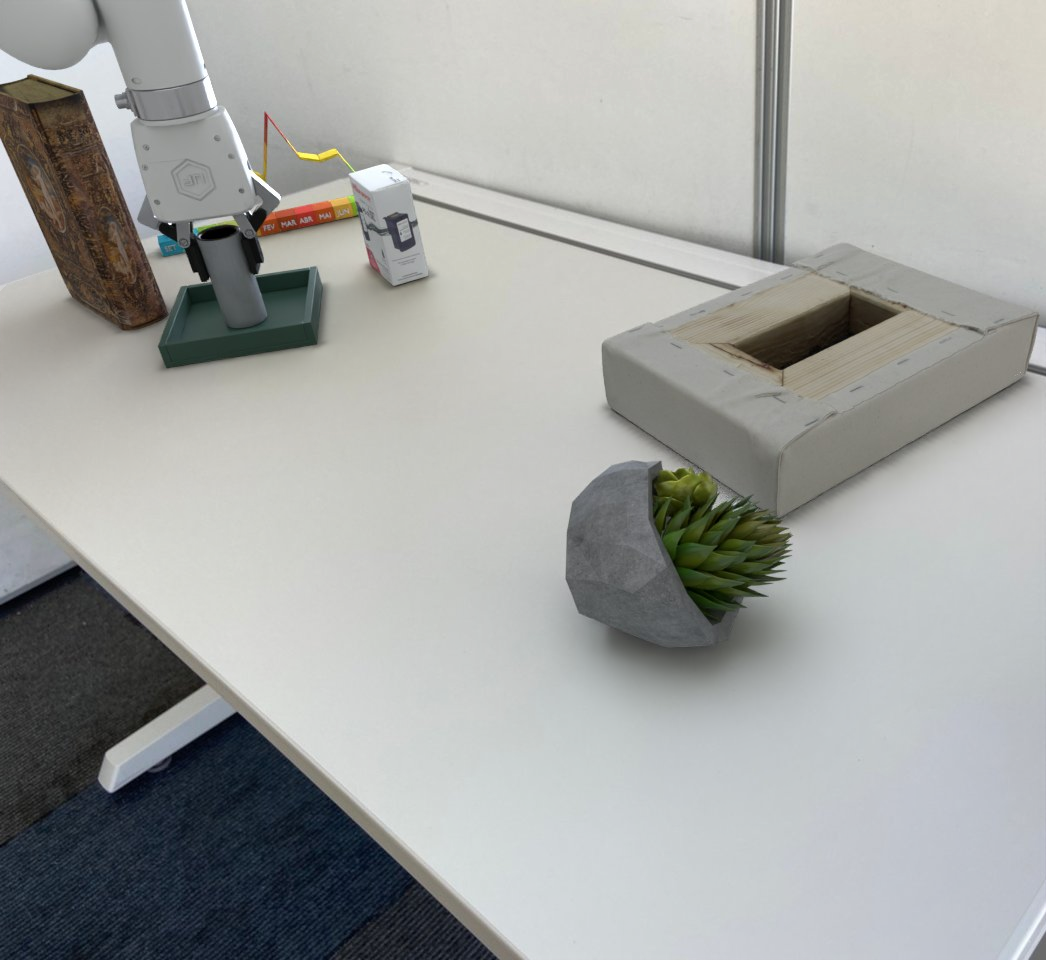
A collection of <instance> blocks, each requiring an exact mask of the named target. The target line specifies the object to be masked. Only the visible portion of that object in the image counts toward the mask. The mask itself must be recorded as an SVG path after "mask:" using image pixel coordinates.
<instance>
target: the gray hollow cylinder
mask: <svg viewBox="0 0 1046 960" xmlns="http://www.w3.org/2000/svg"><path fill="white" fill-rule="evenodd" d="M196 239H197V242H198V245H199V248H200V251H201V254H202V257H203V259H204V262H205V265H206V268H207V271H208V274H209V281H210V282H211V283H212V285H213V288H214V291H215V294H216V297H217V300H218V303H219V306H220V308H221V311H222V314H223V317H224V320H225V322H226V325H227V326H229V327H231V328H247V327H251V326H254V325H257V324H259V323H261V322H262V321H264V320H265V319H266V317H267V312H266V308H265V305H264V302H263V299H262V296H261V293H260V289H259V286H258V283H257V280H256V277H255V275H253V274H251V272H250V269H249V266H248V263H247V260H246V257H245V254H244V251H243V248H242V244H241V239H242V234H241V230H240V228H239V227H238V226H236V225H218V226H213V227H210V228H207V229H204V230H202V231H201V232H199V233H198V234H197V236H196Z"/></svg>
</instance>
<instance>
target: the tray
mask: <svg viewBox="0 0 1046 960" xmlns="http://www.w3.org/2000/svg"><path fill="white" fill-rule="evenodd" d="M255 277H256V280H257V283H258V286H259V289H260V293H261V296H262V299H263V302H264V305H265V308H266V312H267V317H266V319H265V320H264V321H262V322H261V323H259V324H257V325H254V326H251V327H247V328H231V327H229V326H227V325H226V322H225V320H224V317H223V314H222V311H221V308H220V306H219V303H218V300H217V297H216V294H215V291H214V288H213V285H212V283H211V281H207V282H201V283H194V284H189V285H181V286H180V287H179V289H178V292H177V295H176V298H175V299H174V300H175V301H174V303H173V305H172V308H171V311H170V313H169V316H168V317H167V321H166V323H165V326H164V328H163V331H162V334H161V337H160V339H159V342H158V344H157V348H158V351H159V354H160V357H161V359H162V361H163V363H164V366H165V368H166V369H168V368H174V367H180V366H187V365H188V366H189V365H193V364H199V363H205V362H213V361H218V360H224V359H231V358H238V357H244V356H249V355H256V354H257V355H258V354H262V353H268V352H269V353H270V352H275V351H281V350H287V349H294V348H301V347H305V346H313V345H317V343H318V336H319V335H318V334H319V325H320V314H321V304H322V293H323V283H322V280H321V276H320V271H319V269H318V266H317V265H315V266H309V267H302V268H296V269H289V270H282V271H276V272H269V273H262V274H256V275H255Z"/></svg>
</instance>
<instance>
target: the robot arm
mask: <svg viewBox="0 0 1046 960" xmlns="http://www.w3.org/2000/svg"><path fill="white" fill-rule="evenodd" d="M188 8H189V7H188V5H187V2H186V0H0V50H1V51H2V52H4V53H5V54H7V55H9V56H10V57H12V58H14V59H16V60H18V61H19V62H21V63H23V64H26V65H29V66H31V67H32V68H33V67H34V68H36V69H42V70H45V71H61V70H66V69H69V68H72V67H73V66H75V65H77V64H78V63H80V62H81V61H82V60H83V59H84V58H85V57H86V56H87V55H88V54H89V52H90V50H91V49H93V48H95V47H96V46H97V45H101V44H105V43H109V44H110V46H111V48H112V50H113V53H114V56H115V58H116V61H117V64H118V68H119V70H120V73H121V76H122V79H123V81H124V84H125V86H126V88H125V90H124V91H123V92H121V93H119V94H118V93H117V94H114V95H113V97H114V102H115V105H116V107H117V108H118V110H123V109H126V110H130V111H131V113H133V115H134V117H135V119H133V120H132V121H131V122H130V124H129V125H130V132H131V138H132V139H131V140H132V145H133V150H134V153H135V157H136V161H137V166H138V169H139V173H140V176H141V180H142V184H143V187H144V190H145V196H144V199H143V201H142V204H141V207H140V210H139V211H138V214H137V218H136V220H137V222H138V223H139V224H141V225H142V226H143V225H144V226H146V227H148V228H149V229H152V230H156V231H159V233H160V234H161V235H165V236H167V237H169V238H170V239H172V240H174V241H176V242H177V243H178V244H179V246H180V247H182V248H184V249H185V252H184V253H185V254H186V257H187V260H188V263H189V265H190V270H191V271H192V273H193V274H198V277H199V280H200V282H201V283H207V282H208V281H210V277H209V274H208V271H207V268H206V265H205V262H204V259H203V257H202V254H201V251H200V248H199V245H198V242H197V239H196V234H194V229H193V228H194V222H193V221H195V222H196V221H204V220H212V219H219V218H220V219H221V218H225V217H226V218H227V217H232V218H233V220H235V221H236V223H237V225H238V226H239V228H240V229H241V231H242V233H241V234H242V239H241V244H242V248H243V251H244V254H245V257H246V260H247V263H248V266H249V269H250V272H251V274H253V275H260V269H261V264H264V263H265V256H264V253H263V249H262V246H261V243H260V240H259V236H257V231H258V230H259V228H260V227H261V225H262V224H263V222H264V221H265V219H266V217H267V216H268V215H269V214H270V213H271V212H274V210H276V209H277V208H278V207H279V206H280V204H281V200H282V197H281V195H280V194H279V193H278V192H277V191H276V190H275V189H273V188H272V187H271V186H269V184H267V182H266V181H265V182H266V183H265V182H264V181H262V180H261V179H260V178H259V177H258V176H256V175H255V174H254V173H253V171H252V170H253V168H252V166H251V163H250V161H249V158H248V155H247V153H246V150H245V148H244V145H243V143H242V140H241V138H240V135H239V132H237V129H236V126H235V125H234V123H233V121H232V118H231V115H229V112H228V111H227V109H226V107H225V106H224V105H218V102H217V99H216V96H215V93H214V90H213V87H212V84H211V80H210V77H209V74H208V71H207V67H206V63H205V61H204V58H203V55H202V52H201V48H200V44H199V41H198V37H197V34H196V32H195V28H194V25H193V21H192V18H191V15H190V11H189V9H188ZM257 196H258V197H259V198H260V200H261V202H260V204H259V205H257V206H256V207H255V205H256V201H257ZM254 208H255V209H254ZM253 209H254V210H253ZM251 210H253V212H252V211H251Z"/></svg>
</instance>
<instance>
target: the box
mask: <svg viewBox="0 0 1046 960" xmlns="http://www.w3.org/2000/svg"><path fill="white" fill-rule="evenodd" d="M1040 317H1041V315H1040V313H1039V312H1038V311H1037V310H1035V309H1033V308H1030V307H1027V306H1022V305H1019V304H1017V303H1013V302H1008V301H1005V300H1002V299H1000V298H997V297H995V296H991V295H989V294H986V293H984V292H981V291H977V290H975V289H972V288H969V287H966V286H963V285H961V284H957V283H955V282H952V281H950V280H947V279H944V278H942V277H938V276H936V275H933V274H930V273H927V272H924V271H922V270H919V269H917V268H914V267H911V266H908V265H906V264H903V263H901V262H897V261H894V260H892V259H889V258H886V257H883V256H881V255H878V254H875V253H872V252H870V251H867V250H864V249H863V248H861V247H857V246H855V245H854V244H850V243H849V242H839V243H836V244H833V245H831V246H828V247H826V248H824V249H822V250H820V251H818V252H816V253H814V254H812V255H810V256H808V257H805V258H802V259H798V260H795V261H794V262H792V263H791V265H790V267H787V268H785V269H783V270H780V271H778V272H776V273H773V274H771V275H768V276H766V277H764V278H761V279H759V280H755V281H754V282H751V283H749V284H747V285H744V286H741V287H739V288H736V289H734V290H732V291H729V292H727V293H724V294H721V295H719V296H717V297H714V298H712V299H709V300H706V301H704V302H702V303H699V304H697V305H694V306H692V307H690V308H687V309H685V310H682V311H679V312H678V313H675V314H672V315H669V316H668V317H664V318H663V319H660V320H658V321H655V322H651V321H648V322H645V323H642V324H639V325H637V326H635V327H632V328H630V329H628V330H625V331H623V332H620V333H617V334H616V335H613V336H611V337H608V338H606V339H604V341H603V342H602V343H601V366H602V367H601V368H602V377H603V385H604V392H605V398H606V402H607V405H608V406H609V407H610V408H611V410H613V411H615V412H616V413H618V414H619V415H620V416H622V417H623V418H625V419H626V420H628V421H629V422H631V423H633V424H634V425H636V426H637V427H638V428H640V429H641V430H643V431H644V432H646V433H647V434H649V436H652V437H653V438H654V439H656V440H658V441H659V442H661V443H662V444H663V445H665V446H667V447H668V448H670V449H671V450H673V451H674V452H676V453H677V454H679V455H680V456H681V457H683V458H684V459H686V460H688V461H689V462H691V464H693V465H695V466H696V467H698V468H699V469H701V470H703V472H706V473H708V474H710V475H711V477H712V478H714V479H716V481H719V482H720V483H721V484H723V485H724V486H726V487H728V488H729V489H730V490H732V491H734V492H735V493H736V494H738V495H740V497H742V498H745V497H747V496H750V495H752V494H754V495H753V496H752V497H751V498H750V499H749V501H748V502H749V503H751V502H752V503H754V502H758V501H761V502H759V503H757V504H755V505H754V506H756V507H759V508H758V509H760V510H765V509H769V510H767V511H766V512H768V511H774V510H777V511H775V512H773V513H770V514H769V516H776V517H775V518H774V519H780V518H782V517H784V516H786V515H787V514H789V513H790V512H792V511H794V510H796V509H798V508H799V507H802V505H805V504H806V503H808V502H809V501H811V500H813V499H815V498H816V497H818V496H820V495H821V494H823V493H825V492H827V491H829V490H830V489H832V488H834V487H836V486H837V485H839V484H840V483H842V482H844V481H846V480H848V479H849V478H852V477H853V476H854V475H856V474H858V473H860V472H861V471H863V470H865V469H867V468H868V467H870V466H872V465H874V464H876V463H878V462H879V461H881V460H882V459H884V458H886V457H887V456H889V455H892V454H893V453H895V452H897V451H898V450H900V449H902V448H904V447H905V446H906V445H909V444H911V442H914V441H916V440H917V439H919V438H921V437H922V436H924V435H926V434H927V433H929V432H931V431H933V430H935V429H936V428H938V427H940V426H942V425H943V424H945V423H947V422H949V421H950V420H952V419H954V418H955V417H957V416H959V415H960V414H962V413H964V412H966V411H967V410H969V409H971V408H972V407H974V406H977V405H978V404H980V403H982V402H983V401H985V400H987V399H988V398H990V397H992V396H994V395H995V394H997V393H999V392H1001V391H1002V390H1004V389H1005V388H1007V387H1009V386H1011V385H1012V384H1014V383H1017V382H1018V381H1020V380H1021V379H1022V378H1024V377H1025V375H1026V374H1027V371H1028V368H1029V364H1030V360H1031V357H1032V354H1033V350H1034V347H1035V344H1036V340H1037V339H1036V338H1037V334H1038V329H1039V328H1038V327H1039V323H1040ZM1020 372H1021V373H1020ZM1017 374H1018V375H1017ZM1015 375H1016V376H1015ZM752 503H751V504H752Z"/></svg>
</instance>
